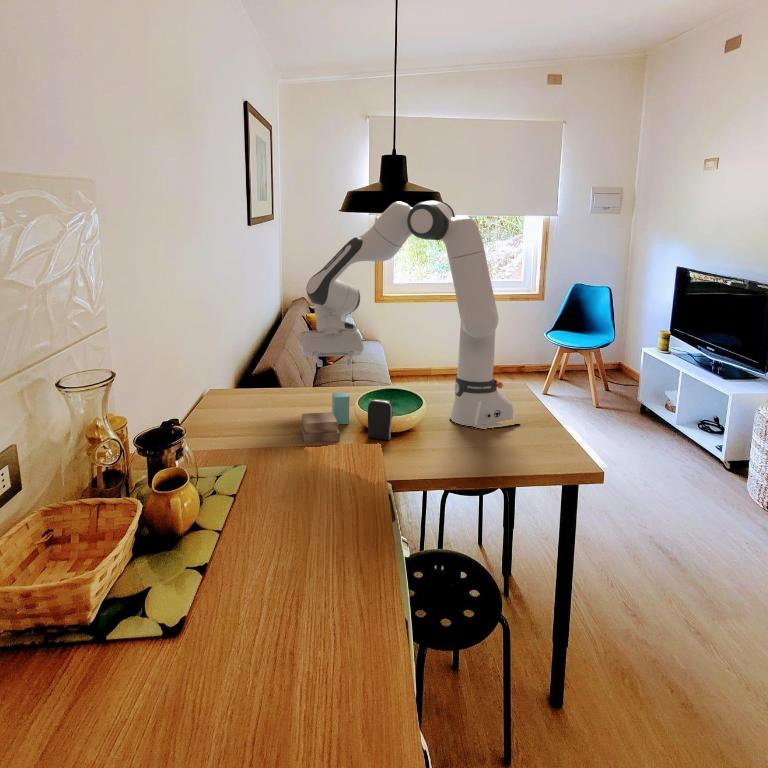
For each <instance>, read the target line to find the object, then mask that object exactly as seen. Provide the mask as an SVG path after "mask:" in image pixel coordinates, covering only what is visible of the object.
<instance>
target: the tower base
mask: <svg viewBox="0 0 768 768" xmlns="http://www.w3.org/2000/svg"><path fill="white" fill-rule="evenodd" d="M300 433H301V436H302V438H303V443H304V444H306V443H307V444H310V443H326V442H327V443H328V442H340V441H341V432H340V430H339V429H338V432H323V433H306V432H305V430H304V427H303V425H302V422H301V423H300Z"/></svg>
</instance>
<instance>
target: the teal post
mask: <svg viewBox="0 0 768 768" xmlns="http://www.w3.org/2000/svg"><path fill="white" fill-rule="evenodd" d="M331 407H332V409H331V412H332V413H333V415H334V416H335V418H336V420H337V421H338V424H348V423H349V424H350V395H349V394H348V392H334V393H332V403H331Z"/></svg>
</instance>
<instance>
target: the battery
mask: <svg viewBox="0 0 768 768" xmlns="http://www.w3.org/2000/svg"><path fill="white" fill-rule="evenodd" d="M393 415H394V404H393V402H392V401H390V400H389V399H388V400H386V399H381V398H374V399H372V400H370V401H369V403H368V406H367V438H370V439H376V440H382V441H383V440H384V441H389V440H390V439H391V438H392V437H391V435H392V434H391V432H392V431H391V429H392V421H393V420H392V419H393Z"/></svg>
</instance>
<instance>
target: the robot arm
mask: <svg viewBox="0 0 768 768" xmlns="http://www.w3.org/2000/svg"><path fill="white" fill-rule="evenodd" d="M411 235H413V236H415V237H416V238H419V239H420V240H421V239H422V240H429V241H430V240H431V241H441V242H443V244H444V247H445V250H446V254H447V258H448V262H449V263H448V264H449V268H450V272H451V278H452V281H453V282H452V283H453V287H454V288H453V289H454V292H455V297H456V302H457V307H458V312H459V319H460V330H459V344H458V345H459V346H458V358H457V359H458V360H457V361H458V362H457V371H456V372H457V373H456V374H457V375H456V376H455V382H454V394H455V396H454V401H453V404H452V409H451V412H450V414H449V417H450V418H451V419H452V420H453V421H454V422H457V423H460V424H464V425H468V426H474V427H477V428H488V427H492V426H498V425H502V424H500V423H497V422H501V421H505V420H511V419H514V415H515V413H514V407H513V404H512V402H511V400H509V399H508V398H507V397H506V396H505V395H503V394H502V393H501V392H500V391H499V390H498V389H502V388H504V383H503V382H502V381H500V380H496V379H495V378H493V375H494V364H495V346H496V344H495V343H496V329H497V327H498V325H499V314H498V308H497V304H496V299H495V295H494V290H493V286H492V280H491V277H490V276H491V275H490V270H489V266H488V260H487V256H486V251H485V246H484V242H483V238H482V236H481V233H480V230H479V227H478V225H477V222H476V220H475V219H473V218H472V217H469V216H457V217H456V215H455V212H454V209H453V208H452V206H450V205H449V204H448V203H446V202H444V201H439V200H426V201H419V202H418V203H416V204H415V205H414V206H411V205H410V204H408V203H406V202H403V201H394V202H392V203H391V204H390V205H389V206H388V207H387V208H386V209H385V210H384V211H383V212H382V213H381V215H379V217H378V218H377V219H376V221H375V222H374V224H373V225H372V226H371V227H370V228H369V229H368V230H367V231H365V232H364V233H362V234H361V235H359V236H356V237H352V238H351V239H350V240H349V241H348V242H346V243H345V244H344V245H343V246H342V247H341V249H339V250H338V251H337V252H336V254H335V255H334V256H333V257H331V259H330V260H329V261H328V262H327V263H326V264H325V265H324V267H322V269H320V270H319V271H318V272H317V273H314V275H313V276H312V277H311V278H310V279H309V280H308V282H307V285H306V289H305V290H306V294H307V296H308V297H307V298H308V299H309V300H310V302H311V303H313V307H314V315H315V318H316V322H315V325H316V330H314V329H313V330H303V331H301V332H300V333H299V341H300V342H301V354H302V356H303V357H307V358H308V357H309V358H310V357H312V359H313V360H314V361H315V363H316V364H317V368H323V364H324V363H323V360H322V359H320V358H319V357H348V359H346V361H345V364H346V367H352V360H353V358H354V356H358V357H359V356H361V355H362V354H363V352H364V343H363V339H362V336H361V334H360V333H359V332H358V326H357V325H356V324H355V323H351V322H347V321H345V320H343V317H344V318H345V317H347V316H349V315H350V314H351V313H353V312H354V311H356V310H357V309H358V308H359V306H360V304H361V293H360V290H359V289H358V287H357V286H355V285H353V284H350V283H348V282H346V281H342V280H340V279H338V278H339V277H340V276H342V274H343V273H344V272H345V271H346V270H347V269H348V268H349V267H350V266H351V265H353V264H355V263H358V262H375V263H379V262H385V261H389V260H390V259H392V258H393V257H394V256H395V255H397V254H398V252H399V251H400V249H401V248H402V247H403V246H404V244H405V243H406V242H407V240H408V239H409V237H410V236H411ZM497 388H498V389H497ZM477 428H476V429H477Z"/></svg>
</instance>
